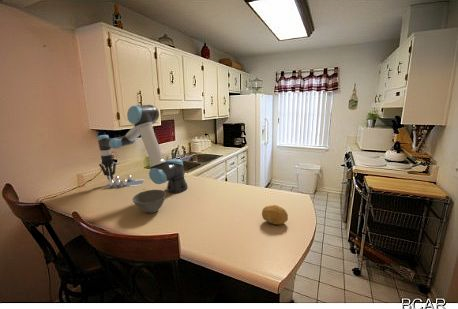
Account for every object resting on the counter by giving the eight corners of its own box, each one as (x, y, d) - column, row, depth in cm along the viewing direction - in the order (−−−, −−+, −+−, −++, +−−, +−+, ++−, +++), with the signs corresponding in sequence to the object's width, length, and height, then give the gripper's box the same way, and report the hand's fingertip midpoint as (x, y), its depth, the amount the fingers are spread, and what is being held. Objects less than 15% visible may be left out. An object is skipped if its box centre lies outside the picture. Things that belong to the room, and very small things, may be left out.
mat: (145, 180, 186) (145, 179, 185) (140, 186, 171) (140, 185, 171) (112, 182, 183) (112, 181, 183) (104, 189, 168) (104, 188, 168)
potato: (285, 213, 104) (288, 203, 112) (258, 209, 110) (263, 200, 118) (286, 229, 107) (289, 219, 115) (260, 225, 113) (265, 215, 121)
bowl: (134, 207, 136) (132, 193, 134) (165, 201, 143) (163, 187, 141) (134, 222, 119) (132, 205, 117) (169, 214, 126) (167, 198, 124)
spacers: (132, 180, 184) (131, 174, 183) (126, 186, 170) (125, 180, 169) (116, 181, 182) (115, 175, 181) (109, 187, 169) (108, 181, 168)
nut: (124, 182, 179) (124, 179, 179) (124, 184, 175) (123, 181, 174) (118, 183, 178) (118, 180, 177) (118, 185, 173) (117, 182, 173)
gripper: (116, 153, 174) (121, 180, 180) (99, 154, 173) (104, 182, 178) (113, 155, 167) (117, 184, 172) (95, 156, 165) (100, 185, 171)
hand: (111, 183), depth 175 cm, fingers closed
